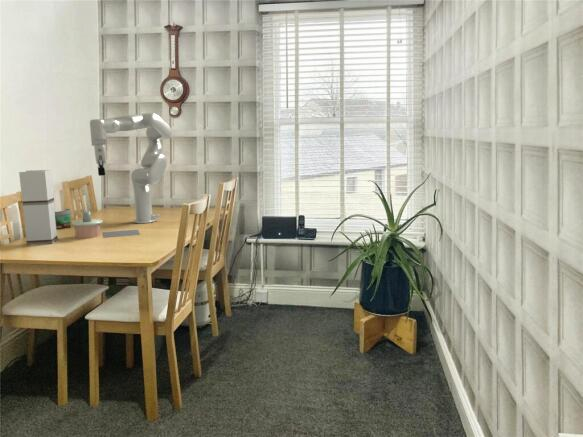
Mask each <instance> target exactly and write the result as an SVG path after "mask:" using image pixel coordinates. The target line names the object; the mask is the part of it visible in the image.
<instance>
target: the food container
mask: <svg viewBox="0 0 583 437" xmlns="http://www.w3.org/2000/svg"><path fill="white" fill-rule="evenodd" d="M71 217H72V210H71V209H70V208H65V210H60V211H55V222H56V230H64V229H65V228H66V229H70V228H71V226H72V225H71V222H72V221H71V220H72V218H71Z"/></svg>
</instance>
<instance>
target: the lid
mask: <svg viewBox="0 0 583 437" xmlns="http://www.w3.org/2000/svg"><path fill="white" fill-rule="evenodd" d="M81 215H82V219H79V220H74V221H71V226H74V227H75V226H90V225H97V224H100V225H101V224H103V223H104V221H103V219H100V218H99V219H98V218H94V219H93V218H92V214H91V211H89V210H87V211H86V210H85V211H82V212H81Z"/></svg>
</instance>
